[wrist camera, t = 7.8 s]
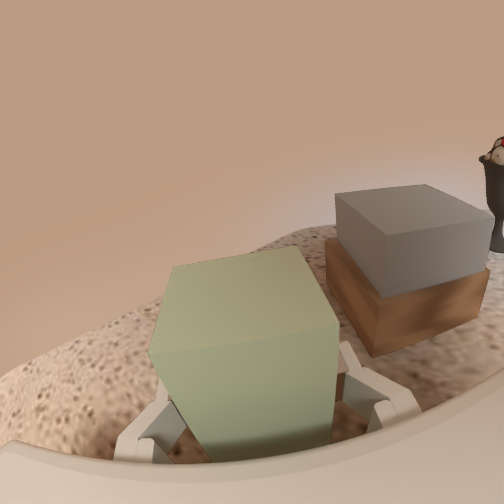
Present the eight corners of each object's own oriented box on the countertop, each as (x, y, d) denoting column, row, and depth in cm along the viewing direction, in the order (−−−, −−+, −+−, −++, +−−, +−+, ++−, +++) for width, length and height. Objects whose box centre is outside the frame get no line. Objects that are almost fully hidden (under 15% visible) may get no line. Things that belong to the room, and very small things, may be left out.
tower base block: (415, 264, 26) (419, 223, 24) (476, 320, 17) (490, 270, 15) (326, 285, 26) (324, 240, 24) (371, 361, 17) (379, 307, 15)
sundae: (500, 261, 22) (512, 119, 16) (463, 238, 29) (467, 113, 22) (525, 250, 23) (537, 125, 17) (491, 230, 29) (496, 118, 23)
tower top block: (423, 226, 24) (425, 184, 22) (484, 270, 16) (494, 217, 14) (337, 239, 24) (334, 193, 22) (382, 298, 16) (386, 235, 14)
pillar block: (307, 406, 15) (297, 245, 10) (325, 473, 11) (339, 323, 6) (228, 419, 15) (173, 266, 10) (232, 488, 10) (147, 353, 6)
